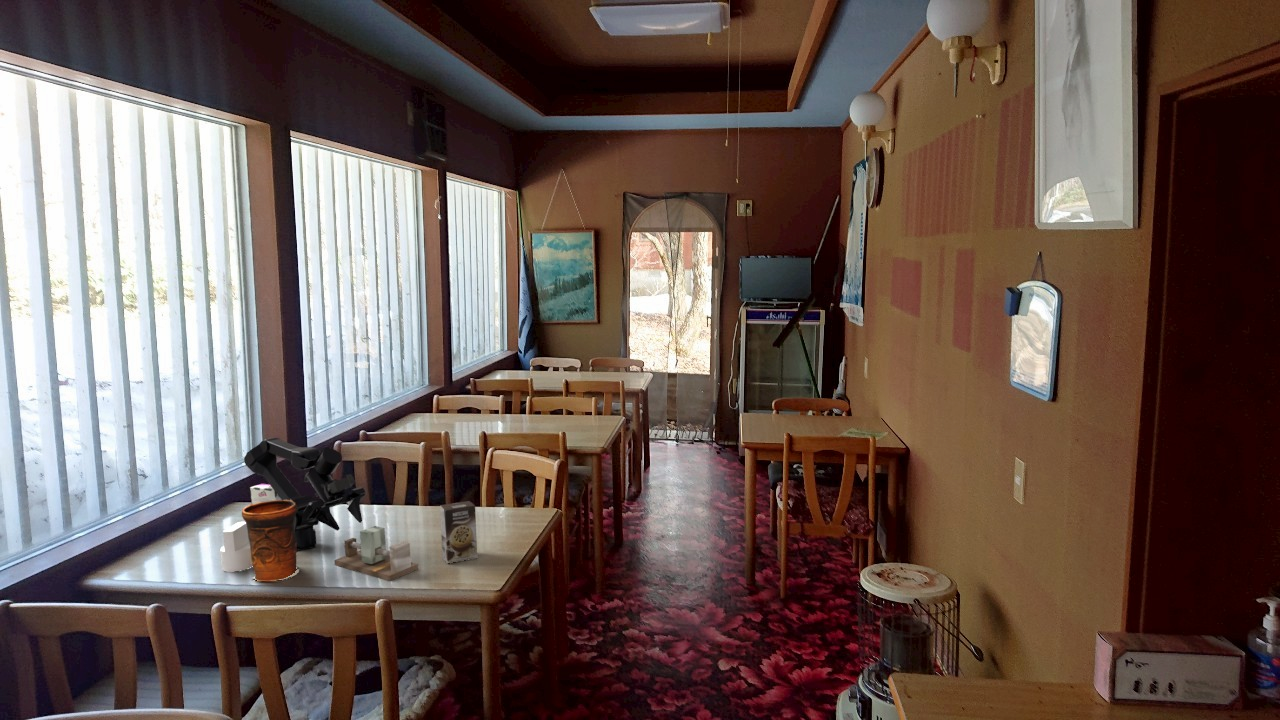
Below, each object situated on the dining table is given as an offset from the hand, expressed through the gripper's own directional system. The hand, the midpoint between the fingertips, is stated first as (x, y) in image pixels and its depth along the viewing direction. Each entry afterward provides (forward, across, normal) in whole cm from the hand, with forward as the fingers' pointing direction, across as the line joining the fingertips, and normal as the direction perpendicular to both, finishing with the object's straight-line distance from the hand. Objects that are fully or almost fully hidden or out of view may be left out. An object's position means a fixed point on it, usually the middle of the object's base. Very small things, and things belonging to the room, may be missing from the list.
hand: (350, 525), depth 237 cm
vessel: (0, -18, +15) cm, 23 cm away
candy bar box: (-22, +2, +38) cm, 44 cm away
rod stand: (+15, 0, 0) cm, 15 cm away
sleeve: (+13, 0, -1) cm, 13 cm away
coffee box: (+27, +17, -12) cm, 34 cm away
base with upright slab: (-10, -20, +26) cm, 34 cm away
